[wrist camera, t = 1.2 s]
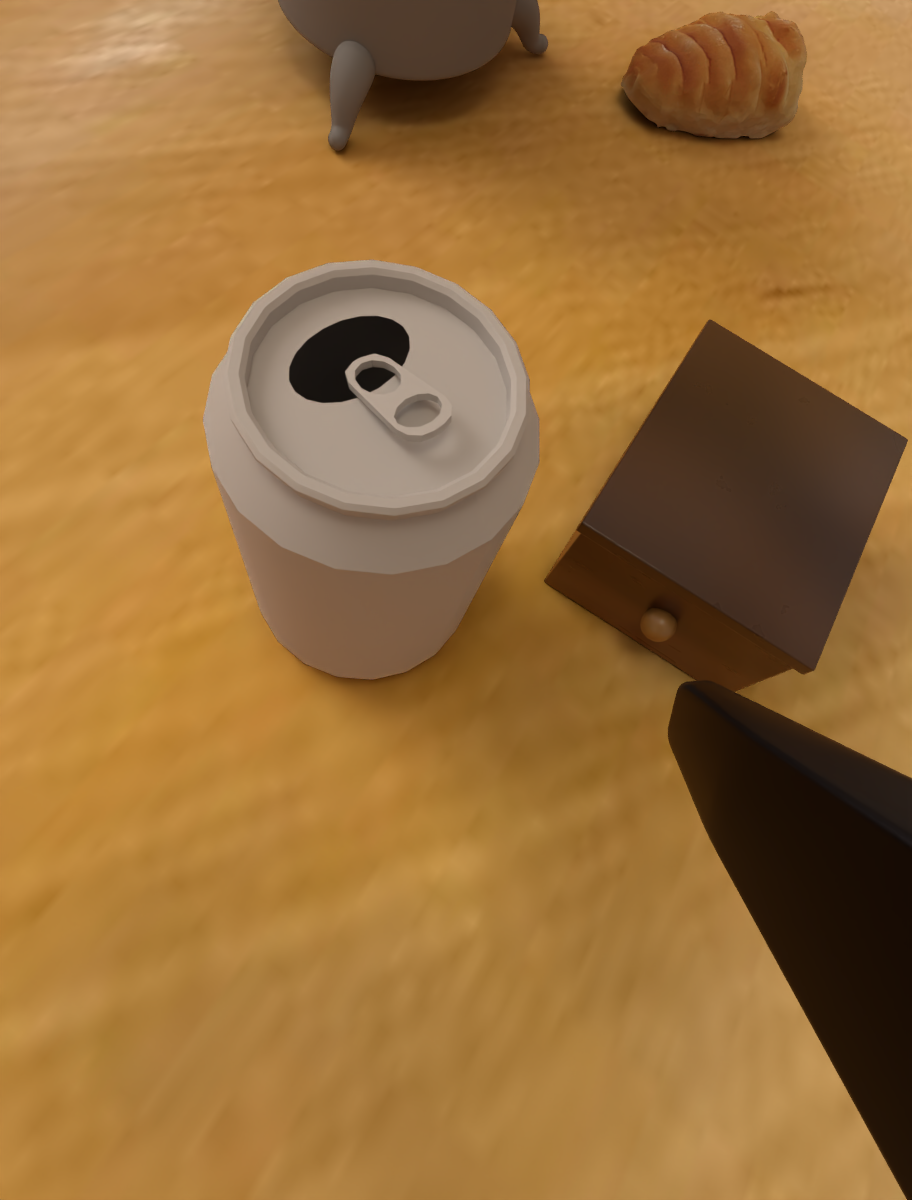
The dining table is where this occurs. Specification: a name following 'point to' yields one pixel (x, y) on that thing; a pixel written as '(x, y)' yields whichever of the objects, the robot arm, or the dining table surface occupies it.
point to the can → (370, 459)
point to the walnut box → (733, 517)
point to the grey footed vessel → (406, 42)
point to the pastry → (720, 76)
